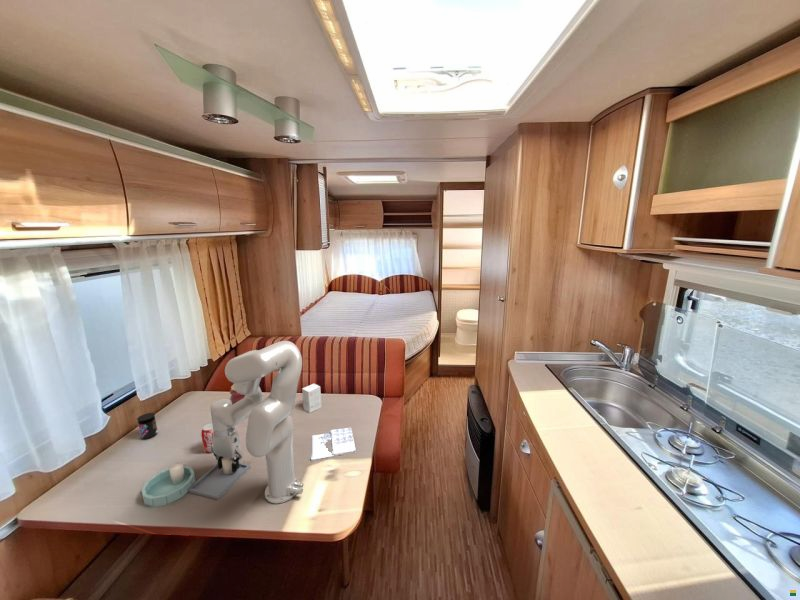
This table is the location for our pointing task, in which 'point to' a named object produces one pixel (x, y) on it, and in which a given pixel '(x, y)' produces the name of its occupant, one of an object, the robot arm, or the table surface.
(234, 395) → the canister
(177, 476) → the cream egg
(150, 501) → the bowl
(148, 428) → the supplement container
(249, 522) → the table surface
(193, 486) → the parts tray
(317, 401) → the small box
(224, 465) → the pebble
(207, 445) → the soda can
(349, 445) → the open book
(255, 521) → the table surface
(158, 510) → the table surface
